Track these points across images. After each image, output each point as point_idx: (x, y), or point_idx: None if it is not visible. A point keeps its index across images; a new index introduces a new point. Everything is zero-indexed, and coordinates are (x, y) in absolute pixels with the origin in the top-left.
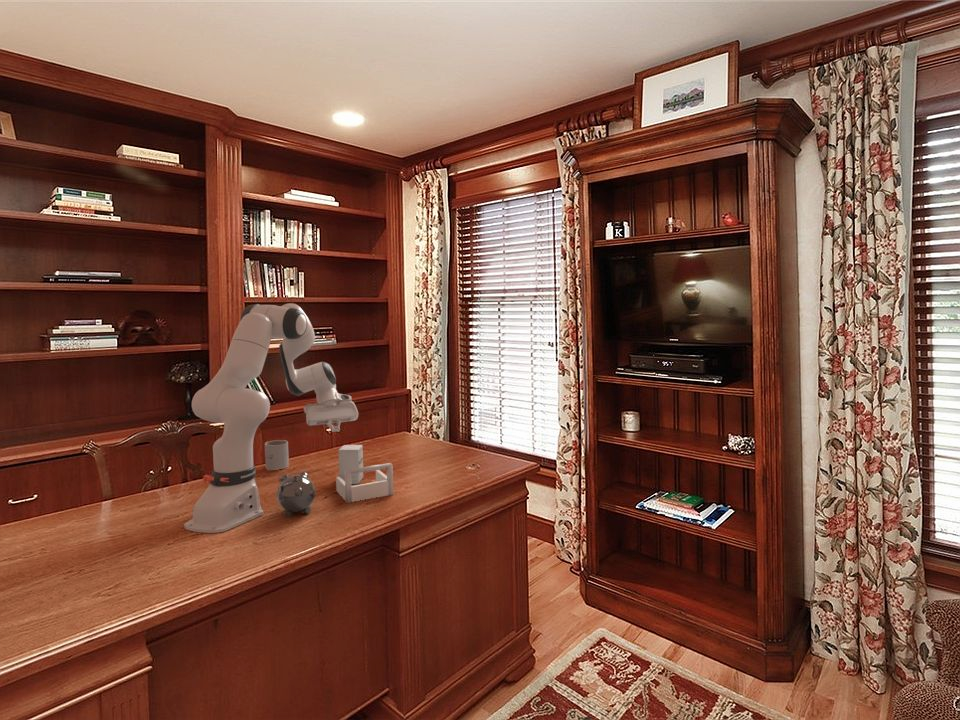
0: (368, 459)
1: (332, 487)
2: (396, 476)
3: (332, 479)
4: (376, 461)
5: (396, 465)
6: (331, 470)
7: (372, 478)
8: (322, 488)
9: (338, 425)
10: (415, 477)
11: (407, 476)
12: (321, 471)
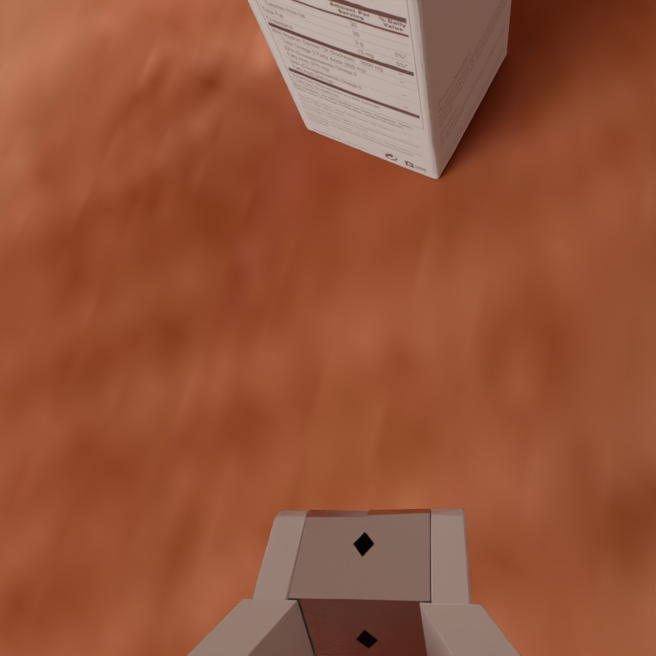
0: (101, 621)
1: (568, 4)
2: (110, 83)
3: (536, 180)
4: (72, 512)
5: (2, 319)
6: (499, 440)
7: (256, 97)
8: (646, 5)
9: (278, 590)
10: (31, 28)
11: (58, 61)
12: (599, 456)
